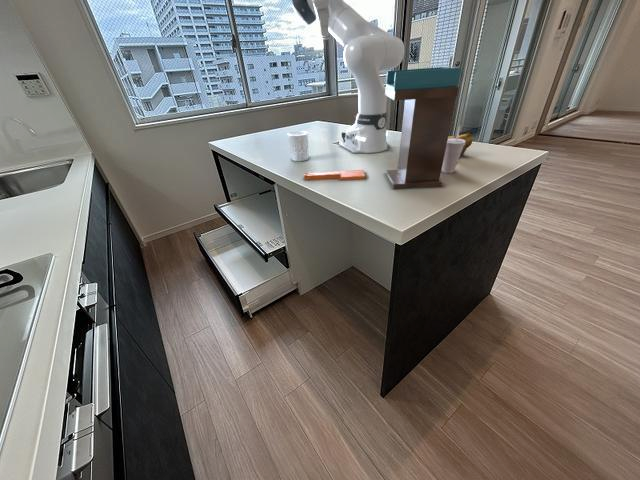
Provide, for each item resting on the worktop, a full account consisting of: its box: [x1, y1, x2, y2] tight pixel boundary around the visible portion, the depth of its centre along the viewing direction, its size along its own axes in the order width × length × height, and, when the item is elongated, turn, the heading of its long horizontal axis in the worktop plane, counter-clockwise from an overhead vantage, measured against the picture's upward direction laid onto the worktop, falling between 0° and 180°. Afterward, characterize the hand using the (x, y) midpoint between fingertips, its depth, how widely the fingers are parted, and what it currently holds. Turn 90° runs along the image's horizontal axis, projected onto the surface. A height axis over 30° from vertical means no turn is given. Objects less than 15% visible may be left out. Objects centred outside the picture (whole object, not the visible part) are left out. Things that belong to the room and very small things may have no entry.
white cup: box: [287, 130, 310, 162], centre depth 105 cm, size 8×8×10 cm
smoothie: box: [441, 125, 466, 174], centre depth 82 cm, size 6×6×14 cm
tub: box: [385, 66, 462, 91], centre depth 67 cm, size 15×11×4 cm
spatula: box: [304, 169, 366, 181], centre depth 88 cm, size 20×6×2 cm, turn 88°
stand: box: [385, 86, 460, 190], centre depth 75 cm, size 16×13×26 cm
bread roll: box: [448, 133, 474, 157], centre depth 97 cm, size 13×10×8 cm
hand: (325, 37), depth 67 cm, fingers open, 8 cm apart
